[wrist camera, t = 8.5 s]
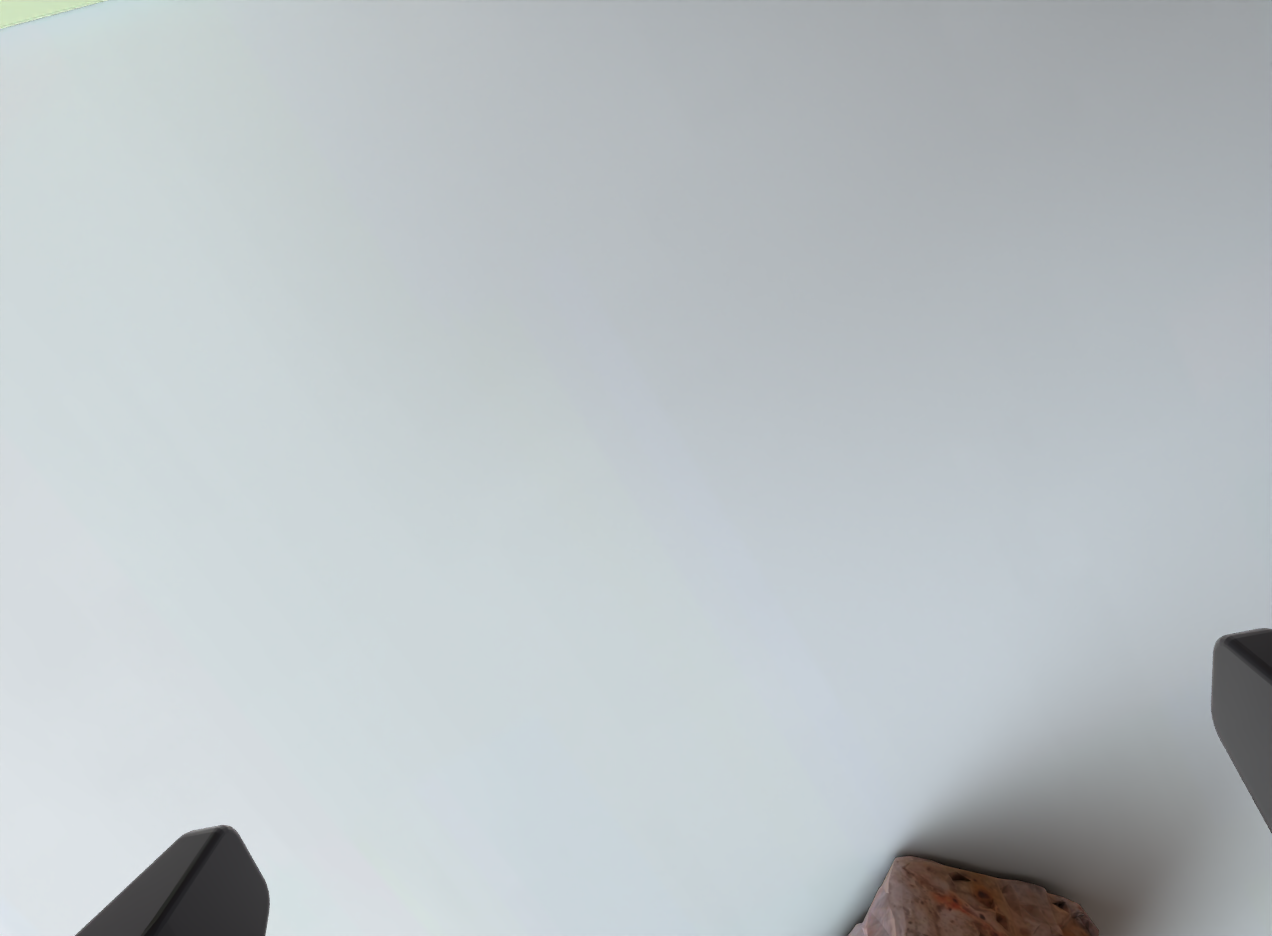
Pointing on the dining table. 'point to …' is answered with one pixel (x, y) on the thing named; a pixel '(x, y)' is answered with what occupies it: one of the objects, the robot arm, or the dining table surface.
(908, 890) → the food item
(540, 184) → the dining table surface
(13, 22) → the pad
